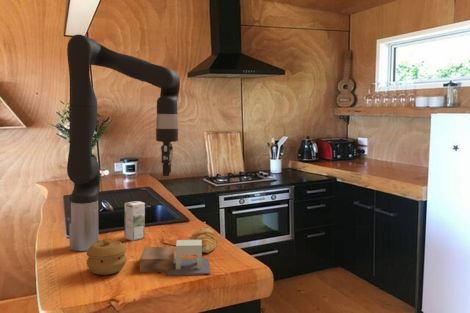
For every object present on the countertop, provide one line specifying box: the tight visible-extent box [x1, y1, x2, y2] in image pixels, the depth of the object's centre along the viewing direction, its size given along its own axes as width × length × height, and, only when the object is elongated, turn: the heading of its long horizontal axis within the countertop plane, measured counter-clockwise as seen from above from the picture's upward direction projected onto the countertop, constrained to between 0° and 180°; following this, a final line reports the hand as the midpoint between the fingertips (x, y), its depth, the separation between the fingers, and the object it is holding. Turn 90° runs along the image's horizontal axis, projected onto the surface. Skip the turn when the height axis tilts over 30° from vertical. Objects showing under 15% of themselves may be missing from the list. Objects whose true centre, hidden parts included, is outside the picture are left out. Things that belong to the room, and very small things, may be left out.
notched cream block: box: [175, 239, 203, 269], centre depth 123 cm, size 6×8×8 cm
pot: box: [86, 239, 128, 276], centre depth 119 cm, size 12×12×10 cm
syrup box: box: [123, 200, 146, 242], centre depth 154 cm, size 6×6×14 cm
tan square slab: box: [139, 246, 176, 273], centre depth 126 cm, size 10×12×4 cm
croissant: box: [189, 227, 219, 254], centre depth 146 cm, size 21×10×8 cm, turn 10°
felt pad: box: [166, 257, 211, 277], centre depth 124 cm, size 13×13×1 cm
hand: (166, 174), depth 135 cm, fingers open, 8 cm apart
